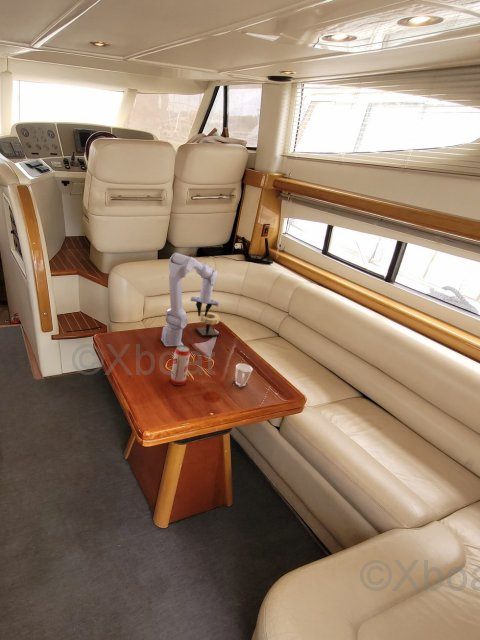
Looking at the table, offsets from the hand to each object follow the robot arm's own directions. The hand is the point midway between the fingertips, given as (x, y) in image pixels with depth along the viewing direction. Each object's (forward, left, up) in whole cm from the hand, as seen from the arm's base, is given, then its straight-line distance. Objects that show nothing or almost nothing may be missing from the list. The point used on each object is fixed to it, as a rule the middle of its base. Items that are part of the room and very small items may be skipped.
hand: (202, 316), depth 203 cm
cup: (-3, -52, -9) cm, 53 cm away
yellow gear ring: (+3, -2, -1) cm, 4 cm away
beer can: (-29, -46, -9) cm, 55 cm away
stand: (+3, -2, -9) cm, 10 cm away
